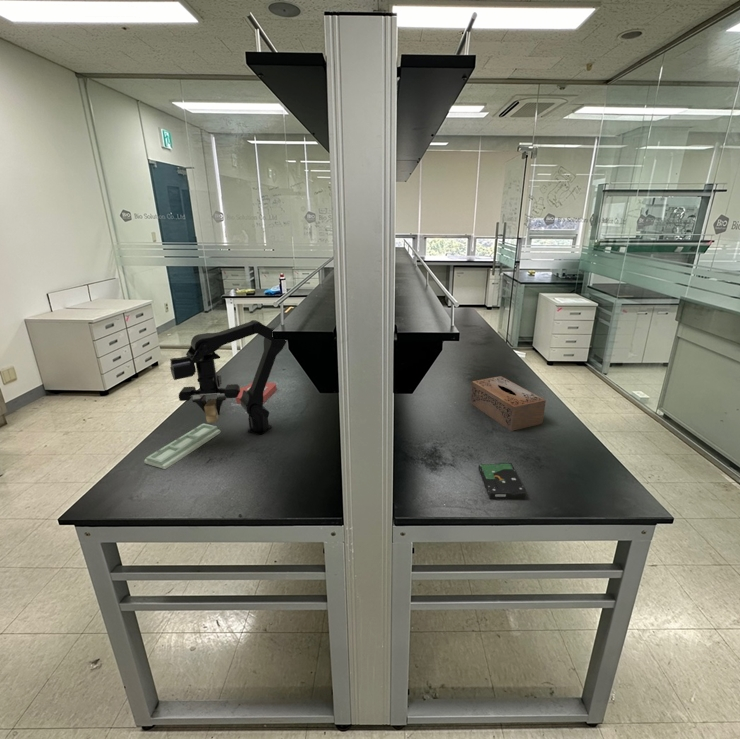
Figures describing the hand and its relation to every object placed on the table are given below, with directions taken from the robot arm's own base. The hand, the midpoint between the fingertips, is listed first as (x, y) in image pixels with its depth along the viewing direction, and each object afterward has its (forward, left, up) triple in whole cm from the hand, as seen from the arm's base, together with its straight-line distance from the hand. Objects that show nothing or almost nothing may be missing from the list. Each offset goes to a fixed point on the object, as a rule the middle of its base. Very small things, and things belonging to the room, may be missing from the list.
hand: (213, 414), depth 144 cm
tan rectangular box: (0, 0, -1) cm, 1 cm away
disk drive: (-95, -14, -12) cm, 97 cm away
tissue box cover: (-90, -61, -11) cm, 109 cm away
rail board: (+8, +7, -11) cm, 15 cm away
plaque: (+14, -37, -12) cm, 41 cm away
